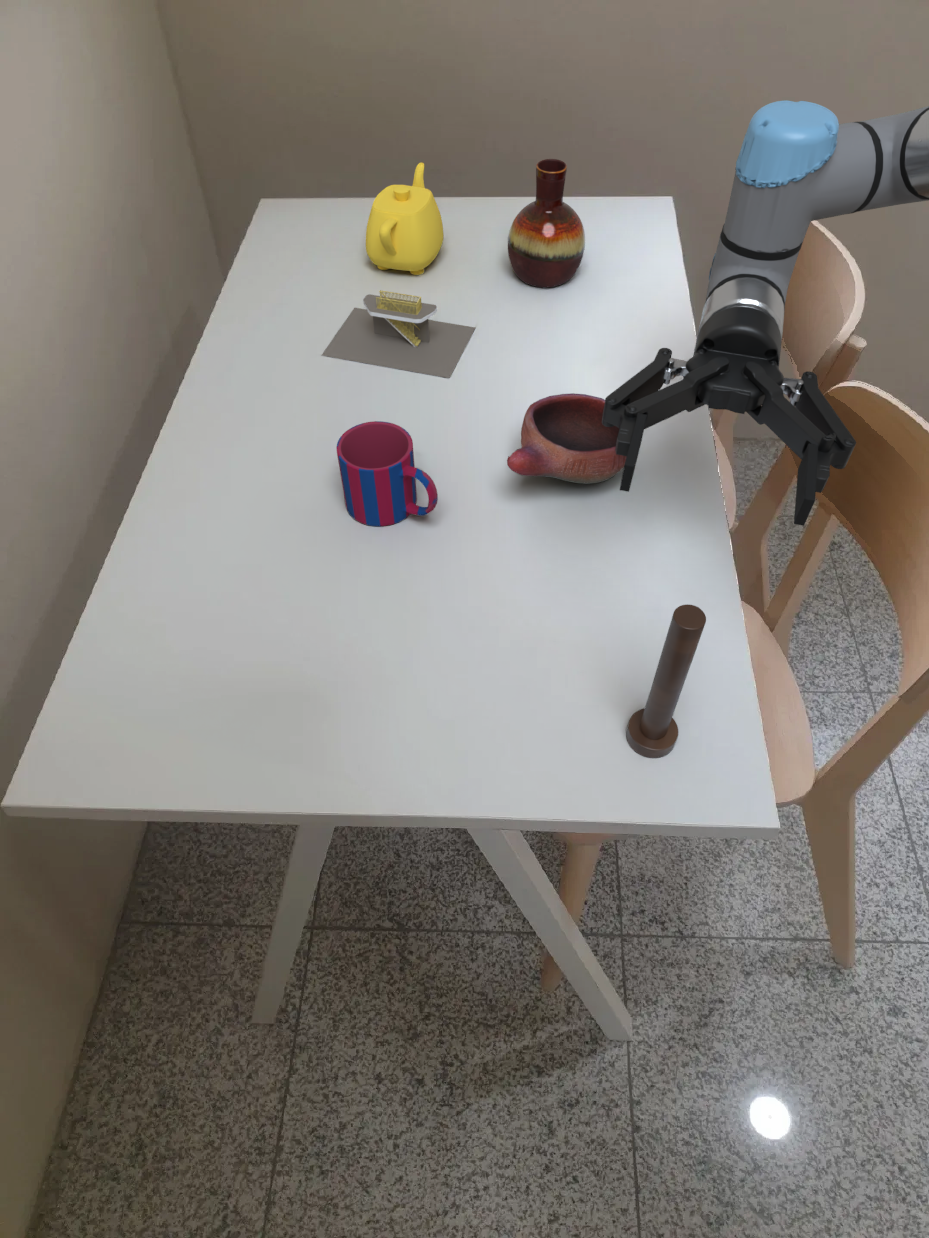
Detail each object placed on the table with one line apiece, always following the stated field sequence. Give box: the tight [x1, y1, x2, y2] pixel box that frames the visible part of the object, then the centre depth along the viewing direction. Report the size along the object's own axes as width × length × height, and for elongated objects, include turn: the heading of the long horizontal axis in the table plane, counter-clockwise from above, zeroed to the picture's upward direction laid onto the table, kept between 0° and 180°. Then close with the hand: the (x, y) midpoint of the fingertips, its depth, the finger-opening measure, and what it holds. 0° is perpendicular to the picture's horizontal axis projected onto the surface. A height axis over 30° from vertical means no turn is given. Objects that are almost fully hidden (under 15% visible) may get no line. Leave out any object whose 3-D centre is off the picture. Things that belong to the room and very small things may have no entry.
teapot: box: [365, 162, 445, 276], centre depth 123 cm, size 18×11×11 cm, turn 164°
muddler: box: [625, 604, 707, 759], centre depth 69 cm, size 4×4×18 cm
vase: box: [507, 158, 586, 288], centre depth 118 cm, size 11×11×15 cm
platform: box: [321, 289, 476, 379], centre depth 111 cm, size 12×18×7 cm, turn 73°
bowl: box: [506, 392, 627, 485], centre depth 94 cm, size 16×13×8 cm
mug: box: [336, 420, 439, 527], centre depth 91 cm, size 8×12×8 cm, turn 46°
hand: (713, 495), depth 65 cm, fingers open, 13 cm apart
